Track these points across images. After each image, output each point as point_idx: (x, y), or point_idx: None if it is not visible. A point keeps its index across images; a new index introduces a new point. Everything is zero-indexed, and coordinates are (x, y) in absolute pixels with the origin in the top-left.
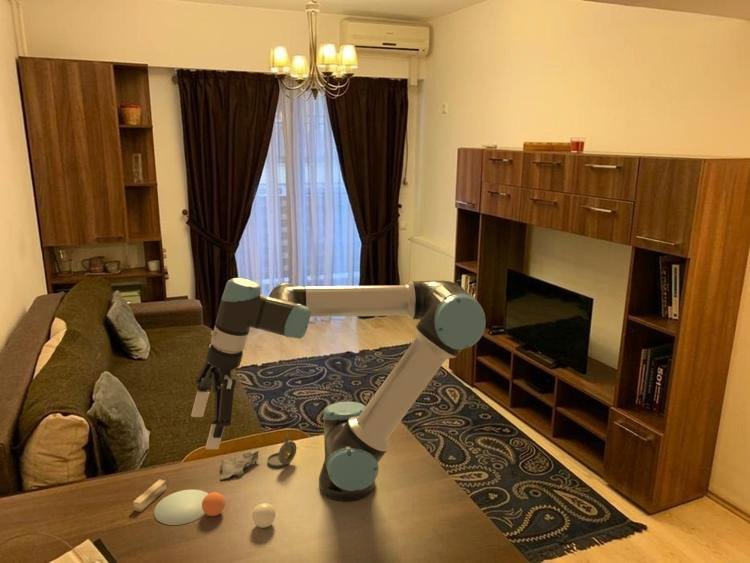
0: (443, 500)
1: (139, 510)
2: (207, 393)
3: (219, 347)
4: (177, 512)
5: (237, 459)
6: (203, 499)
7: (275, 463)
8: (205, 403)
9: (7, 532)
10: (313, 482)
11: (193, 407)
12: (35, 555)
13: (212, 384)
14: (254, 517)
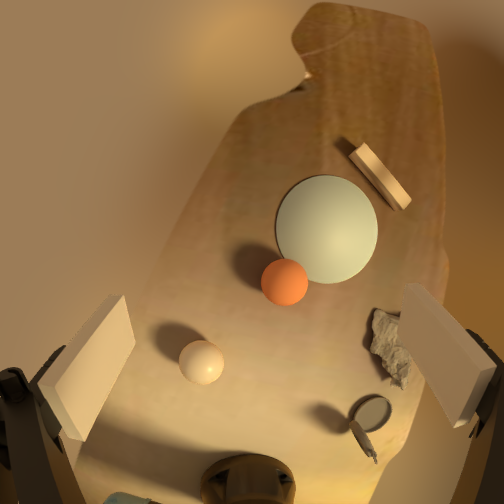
0: None
1: (350, 154)
2: (454, 415)
3: None
4: (315, 215)
5: (400, 351)
6: (295, 264)
7: (368, 407)
8: (426, 374)
9: (365, 8)
10: (280, 450)
11: (435, 305)
12: (301, 21)
13: (455, 494)
14: (193, 345)
